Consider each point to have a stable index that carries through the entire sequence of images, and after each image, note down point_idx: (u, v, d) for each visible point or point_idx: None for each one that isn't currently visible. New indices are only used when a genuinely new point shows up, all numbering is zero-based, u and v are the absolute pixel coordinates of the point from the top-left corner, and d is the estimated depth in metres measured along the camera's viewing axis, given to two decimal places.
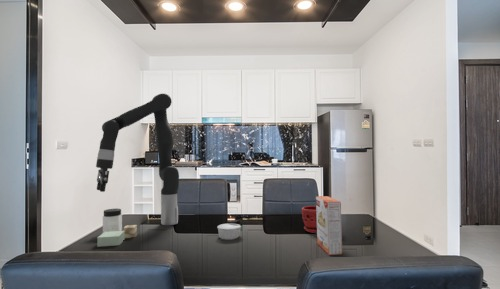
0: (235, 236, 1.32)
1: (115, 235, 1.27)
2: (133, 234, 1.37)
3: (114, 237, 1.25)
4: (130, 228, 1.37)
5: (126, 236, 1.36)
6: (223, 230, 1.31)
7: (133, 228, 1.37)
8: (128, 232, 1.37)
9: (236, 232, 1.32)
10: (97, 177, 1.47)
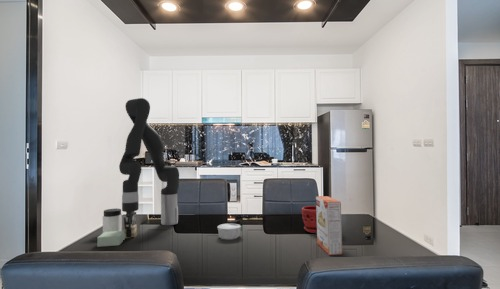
0: (235, 236, 1.32)
1: (115, 235, 1.27)
2: (133, 234, 1.37)
3: (114, 237, 1.25)
4: None
5: None
6: (223, 230, 1.31)
7: (133, 228, 1.37)
8: None
9: (236, 232, 1.32)
10: None
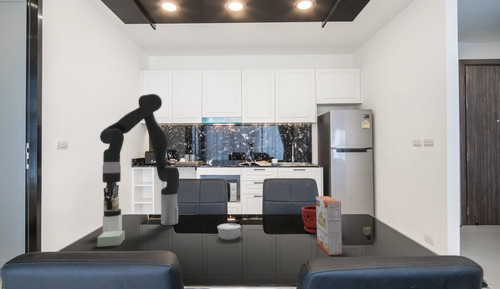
0: (235, 236, 1.32)
1: (115, 235, 1.27)
2: (114, 207, 1.27)
3: (114, 237, 1.25)
4: None
5: (106, 209, 1.27)
6: (223, 230, 1.31)
7: (114, 200, 1.28)
8: None
9: (236, 232, 1.32)
10: None
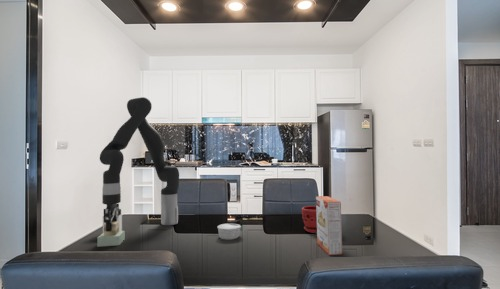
0: (235, 236, 1.32)
1: (115, 235, 1.27)
2: (114, 231, 1.27)
3: (114, 237, 1.25)
4: None
5: (106, 233, 1.27)
6: (223, 230, 1.31)
7: (114, 225, 1.27)
8: None
9: (236, 232, 1.32)
10: None
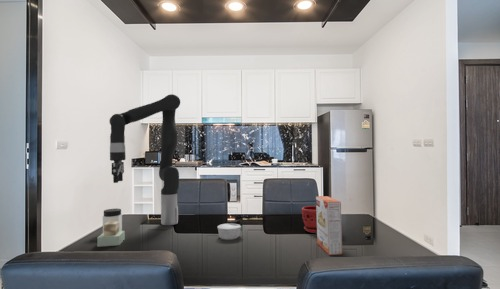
0: (235, 236, 1.32)
1: (115, 235, 1.27)
2: (114, 231, 1.27)
3: (114, 237, 1.25)
4: (111, 225, 1.27)
5: (106, 233, 1.27)
6: (223, 230, 1.31)
7: (114, 225, 1.27)
8: (108, 229, 1.27)
9: (236, 232, 1.32)
10: None
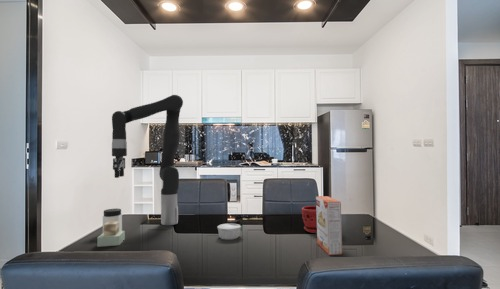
0: (235, 236, 1.32)
1: (115, 235, 1.27)
2: (114, 231, 1.27)
3: (114, 237, 1.25)
4: (111, 225, 1.27)
5: (106, 233, 1.27)
6: (223, 230, 1.31)
7: (114, 225, 1.27)
8: (108, 229, 1.27)
9: (236, 232, 1.32)
10: None
